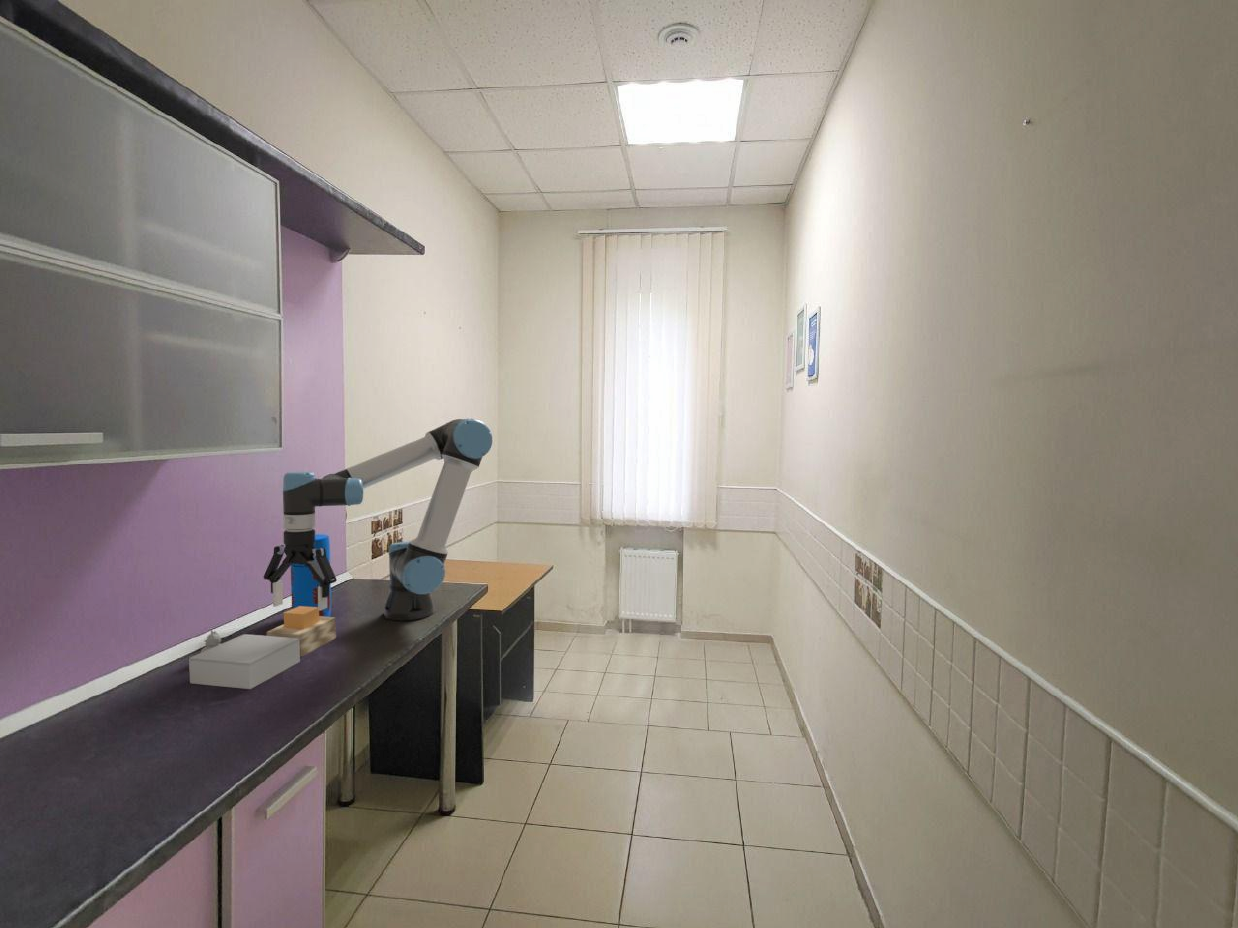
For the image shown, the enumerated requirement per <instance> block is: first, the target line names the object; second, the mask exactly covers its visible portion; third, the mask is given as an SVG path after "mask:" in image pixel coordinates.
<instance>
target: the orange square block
mask: <svg viewBox="0 0 1238 928" xmlns="http://www.w3.org/2000/svg"><path fill="white" fill-rule="evenodd" d="M318 622H319V610H318V607H305V606H299V607H296V608H294V609H292V608H291V609H289V610H287V611H285V612H283V624H284V628H297V629H305V628H307V627H309V626H311V625H314V624H316V623H318Z"/></svg>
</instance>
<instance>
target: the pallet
mask: <svg viewBox="0 0 1238 928" xmlns="http://www.w3.org/2000/svg"><path fill="white" fill-rule="evenodd" d="M336 625H337V623H336V617H335V616H329V617H323V616H319V622H318V623H316V624H314V625H311V626H309V627H307V628H305V629H297V628H284V623H283V624H281V625H279V626H276V627H275V628H273V629H270V630H268V631H266V636H274V637H286V638H298V639H299V645H300V658H301V656H302V657H304V656H305V655H307V654H309V653H311V652H313V651H315V650H316V649H318V648H320V647H322V646H324V645H325V644H328V643H329V642H331V641H333V640H335V639H336V638H337V629H336V628H337V626H336Z"/></svg>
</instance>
